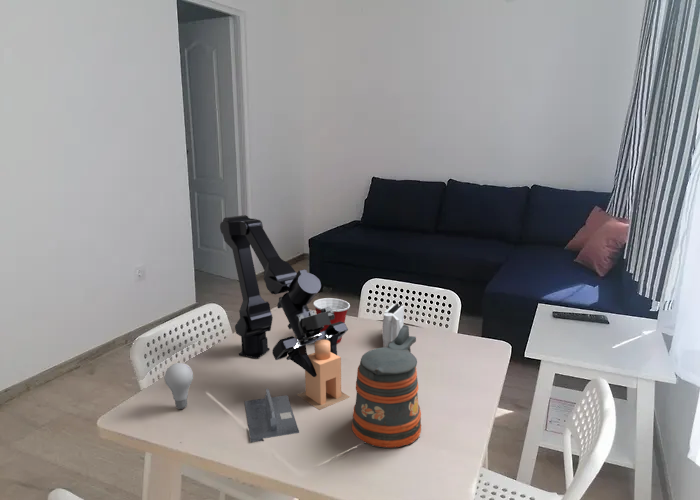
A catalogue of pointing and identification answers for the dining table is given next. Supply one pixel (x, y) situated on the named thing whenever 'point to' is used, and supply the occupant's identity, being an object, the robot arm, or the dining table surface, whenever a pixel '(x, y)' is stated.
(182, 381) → the lightbulb
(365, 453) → the dining table surface
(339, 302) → the plastic cup
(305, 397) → the thin square tan tile
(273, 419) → the grey finned plate
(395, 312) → the white box
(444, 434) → the dining table surface
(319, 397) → the arched stamp block
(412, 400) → the beer stein
